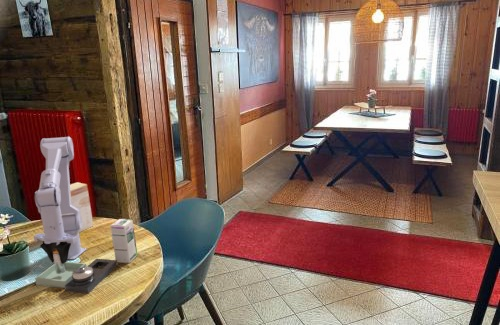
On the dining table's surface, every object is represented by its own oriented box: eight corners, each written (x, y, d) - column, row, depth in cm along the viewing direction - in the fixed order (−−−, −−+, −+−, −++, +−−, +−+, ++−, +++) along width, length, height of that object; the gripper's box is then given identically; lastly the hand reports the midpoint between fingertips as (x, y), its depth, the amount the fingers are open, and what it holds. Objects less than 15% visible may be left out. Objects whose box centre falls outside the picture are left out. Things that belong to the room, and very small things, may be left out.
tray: (36, 285, 125) (35, 278, 124) (59, 267, 135) (58, 261, 134) (66, 288, 122) (64, 281, 122) (86, 270, 133) (85, 263, 132)
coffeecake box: (83, 223, 172) (77, 181, 167) (94, 226, 168) (87, 184, 163) (52, 236, 159) (44, 192, 154) (63, 240, 156) (55, 195, 151)
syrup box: (130, 263, 136) (125, 225, 132) (115, 262, 138) (109, 224, 134) (137, 255, 142) (133, 219, 138) (123, 254, 143) (118, 218, 139)
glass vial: (53, 273, 127) (49, 251, 125) (60, 268, 130) (56, 246, 128) (62, 274, 126) (58, 252, 124) (68, 269, 129) (65, 247, 127)
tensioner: (65, 291, 121) (62, 274, 119) (97, 263, 137) (94, 248, 135) (88, 293, 119) (85, 276, 118) (117, 265, 135) (115, 250, 134)
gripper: (24, 227, 121) (31, 266, 125) (64, 230, 118) (71, 269, 122) (40, 218, 128) (47, 255, 132) (78, 221, 125) (84, 258, 129)
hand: (59, 261), depth 127 cm, fingers open, 3 cm apart
